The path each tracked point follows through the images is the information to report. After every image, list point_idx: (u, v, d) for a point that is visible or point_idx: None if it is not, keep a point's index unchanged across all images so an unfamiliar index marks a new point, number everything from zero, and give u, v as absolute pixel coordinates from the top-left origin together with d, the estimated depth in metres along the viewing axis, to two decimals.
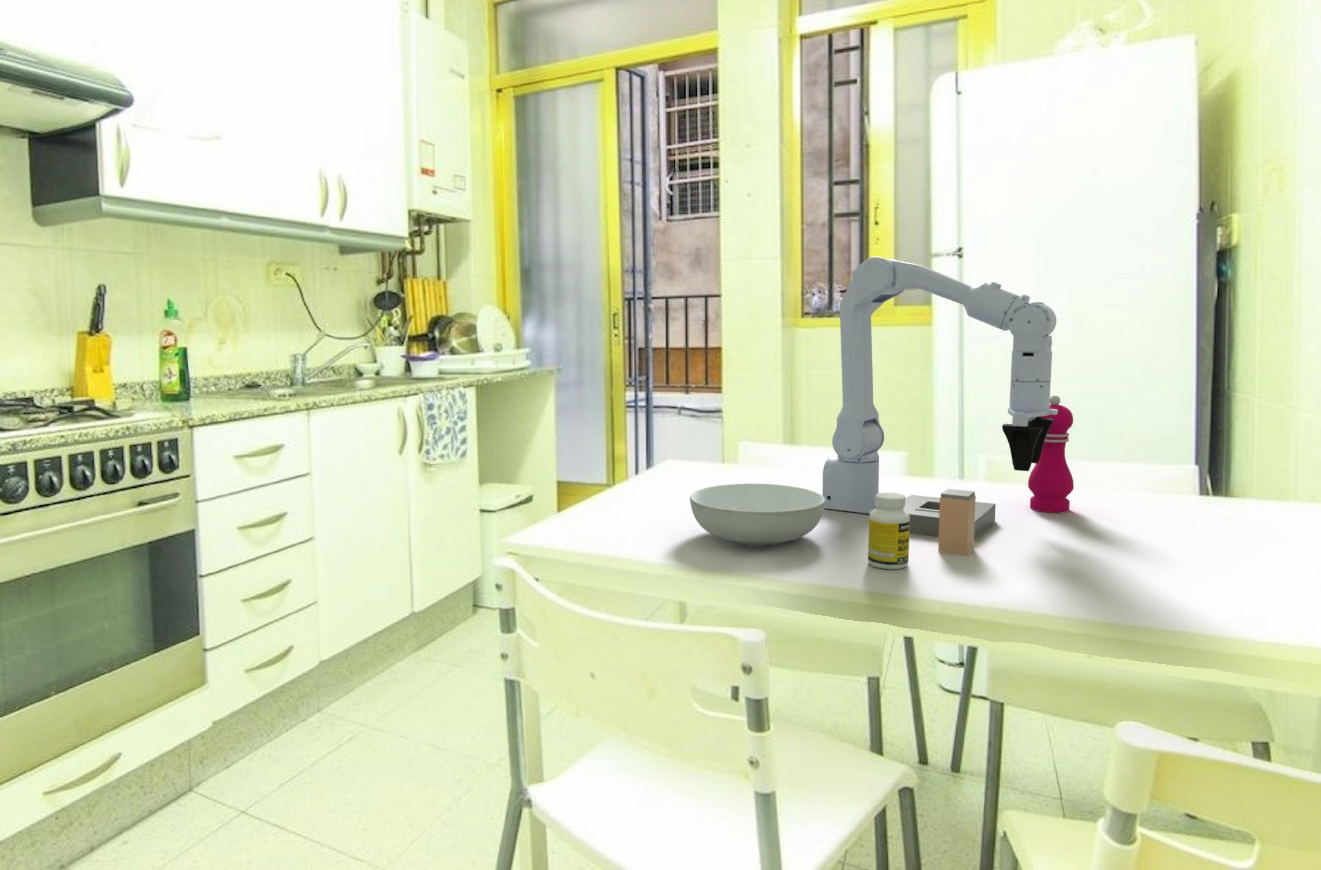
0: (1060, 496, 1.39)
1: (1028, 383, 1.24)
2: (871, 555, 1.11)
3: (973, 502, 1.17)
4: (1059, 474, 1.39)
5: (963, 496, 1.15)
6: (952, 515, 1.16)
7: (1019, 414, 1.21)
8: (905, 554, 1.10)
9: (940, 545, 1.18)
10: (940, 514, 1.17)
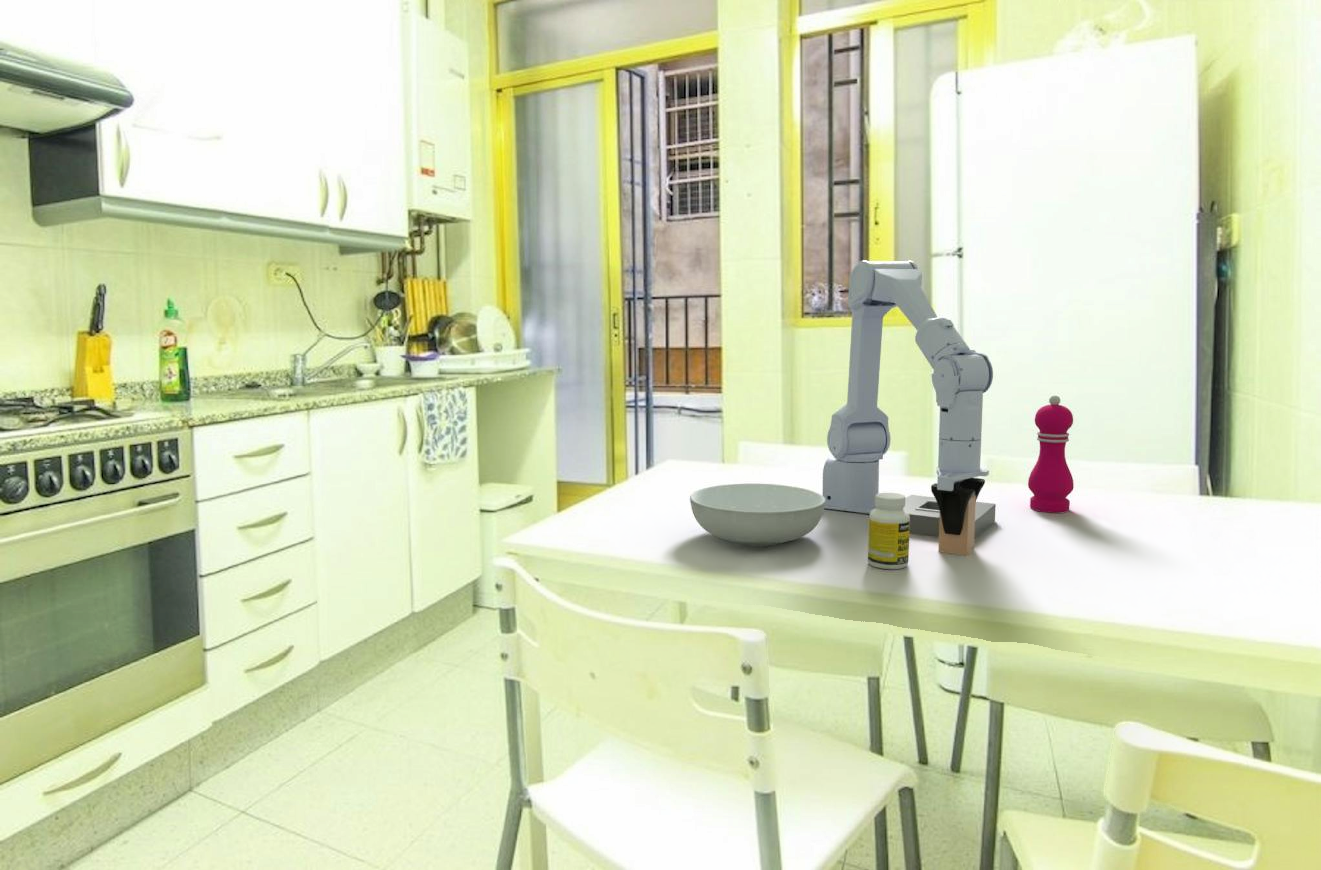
0: (1060, 496, 1.39)
1: (956, 442, 1.14)
2: (871, 555, 1.11)
3: (973, 502, 1.17)
4: (1059, 474, 1.39)
5: None
6: None
7: (944, 477, 1.11)
8: (905, 554, 1.10)
9: (940, 545, 1.18)
10: (940, 514, 1.17)
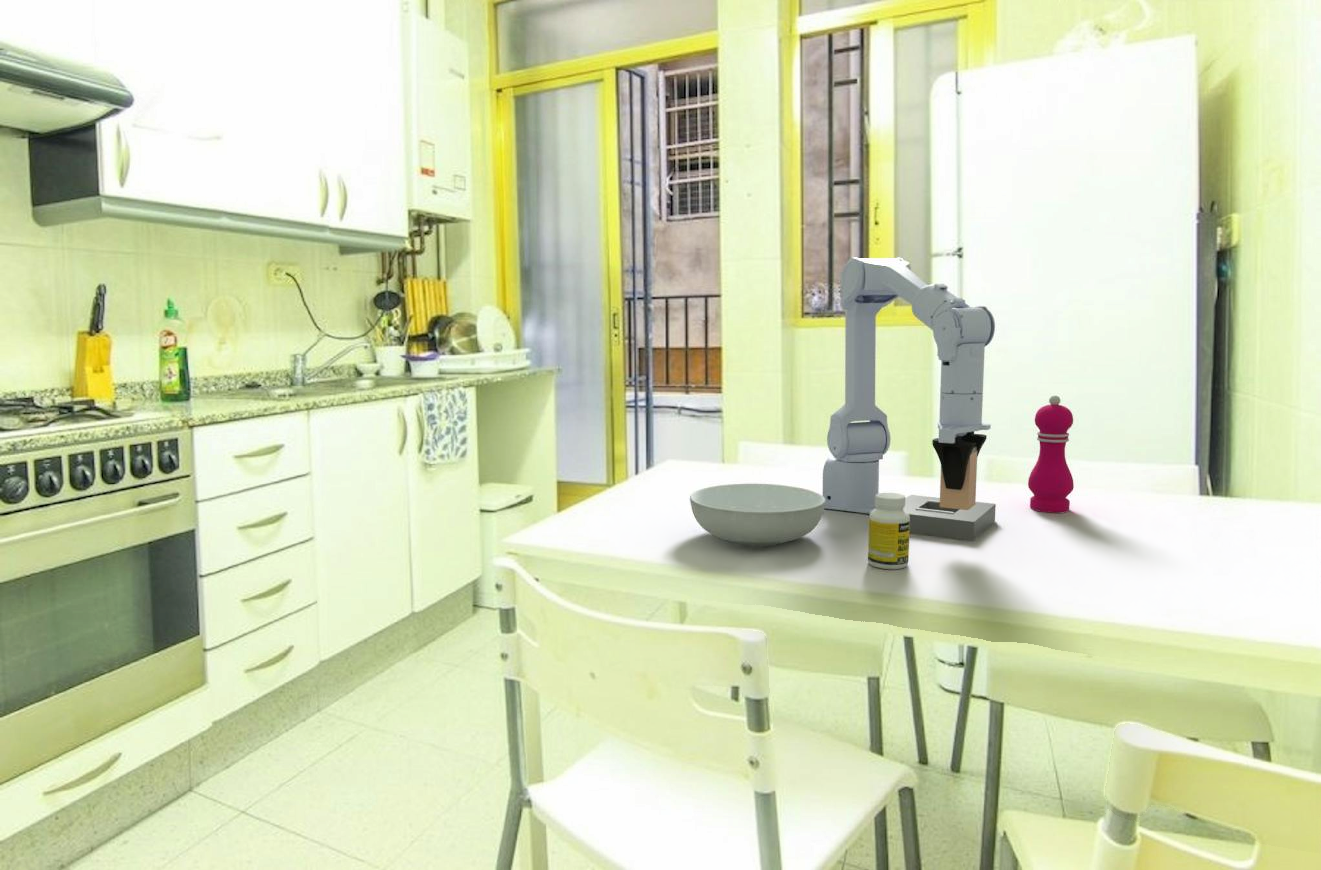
0: (1060, 496, 1.39)
1: (957, 395, 1.13)
2: (871, 555, 1.11)
3: (975, 457, 1.16)
4: (1059, 474, 1.39)
5: None
6: None
7: (945, 430, 1.10)
8: (905, 554, 1.10)
9: (941, 501, 1.17)
10: (941, 469, 1.17)
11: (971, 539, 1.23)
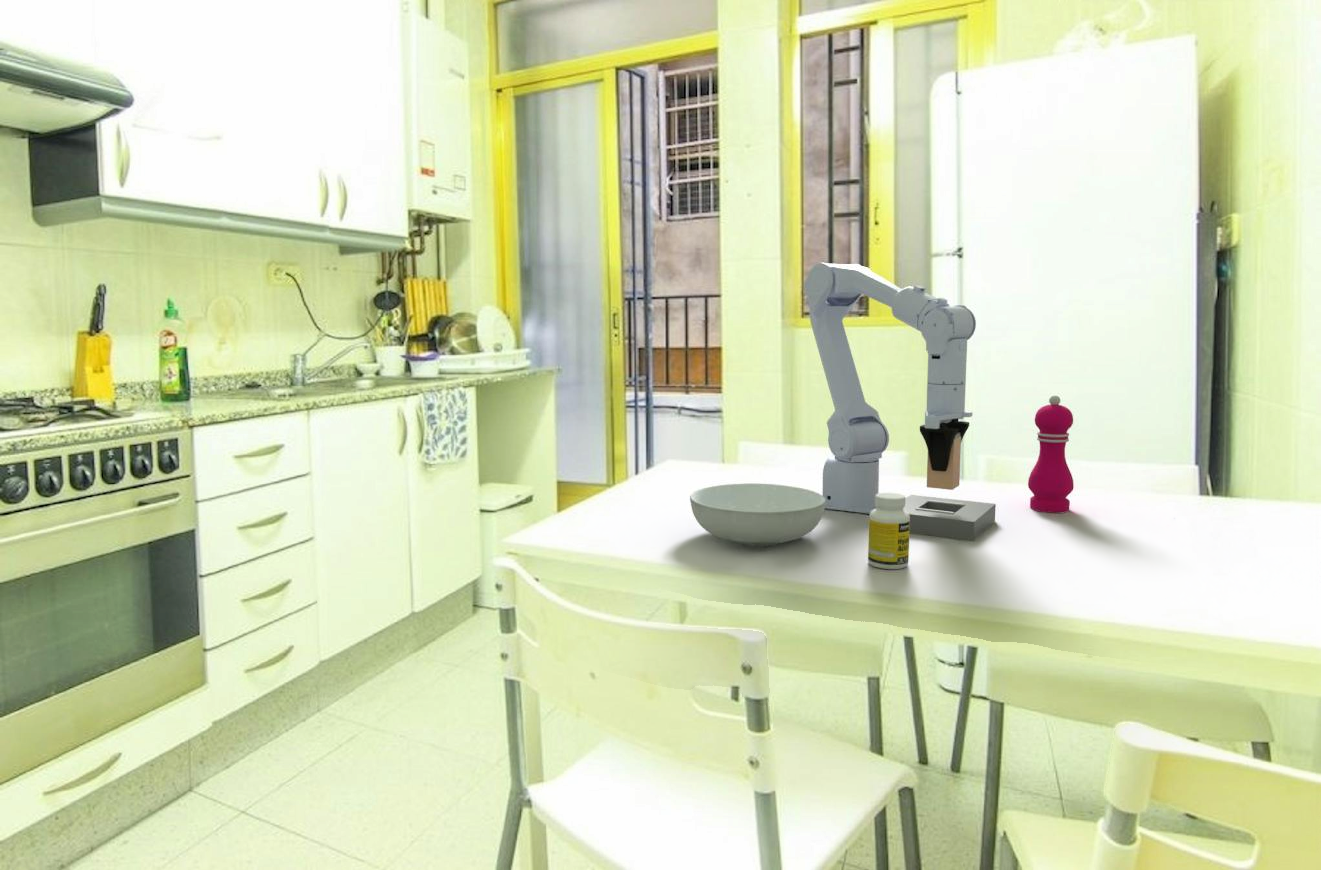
0: (1060, 496, 1.39)
1: (942, 386, 1.25)
2: (871, 555, 1.11)
3: (958, 442, 1.28)
4: (1059, 474, 1.39)
5: None
6: None
7: (931, 416, 1.22)
8: (905, 554, 1.10)
9: (928, 481, 1.29)
10: (928, 453, 1.28)
11: (971, 539, 1.23)
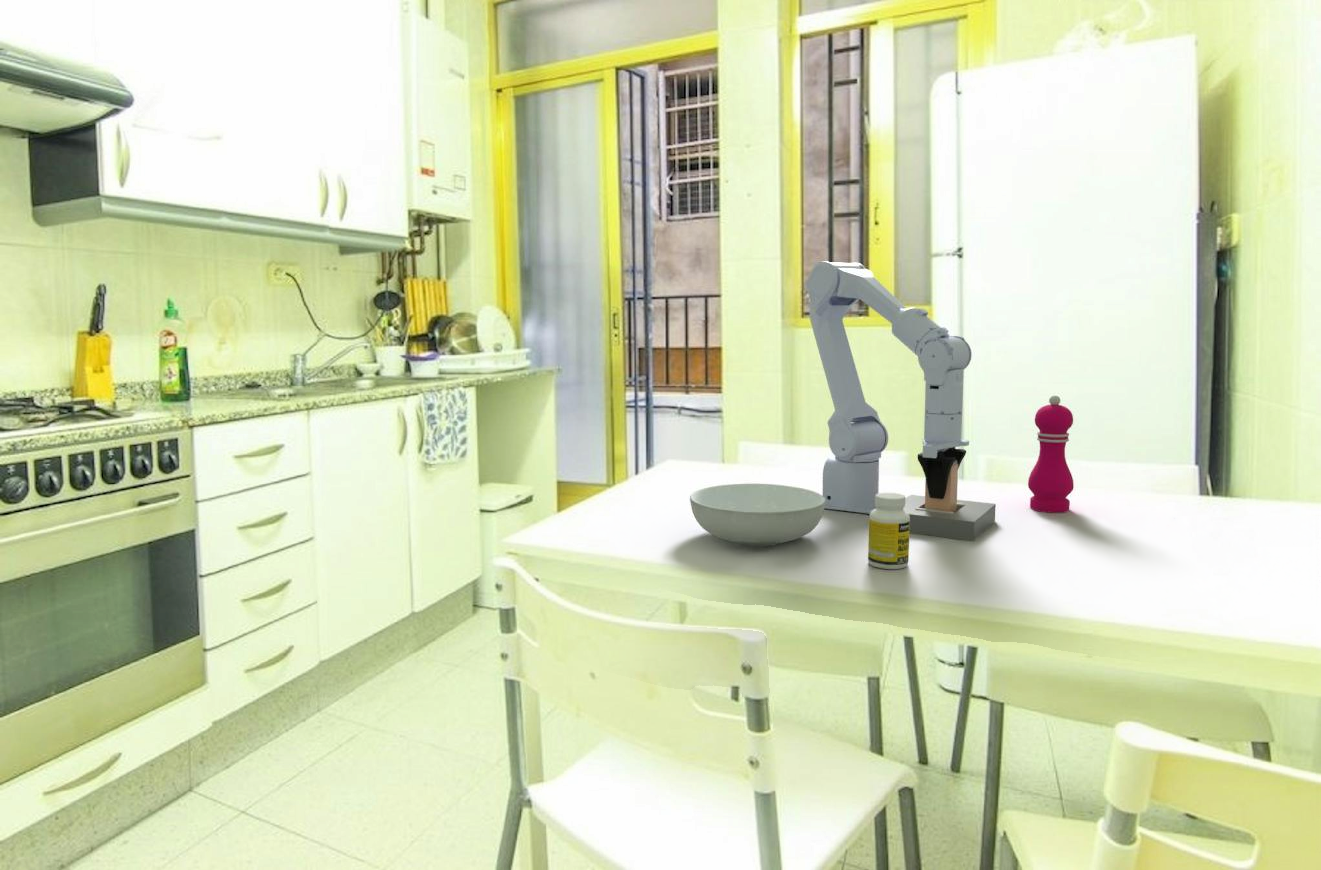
0: (1060, 496, 1.39)
1: (939, 415, 1.28)
2: (871, 555, 1.11)
3: (956, 469, 1.31)
4: (1059, 474, 1.39)
5: None
6: None
7: (929, 446, 1.25)
8: (905, 554, 1.10)
9: (926, 508, 1.32)
10: None
11: (971, 539, 1.23)
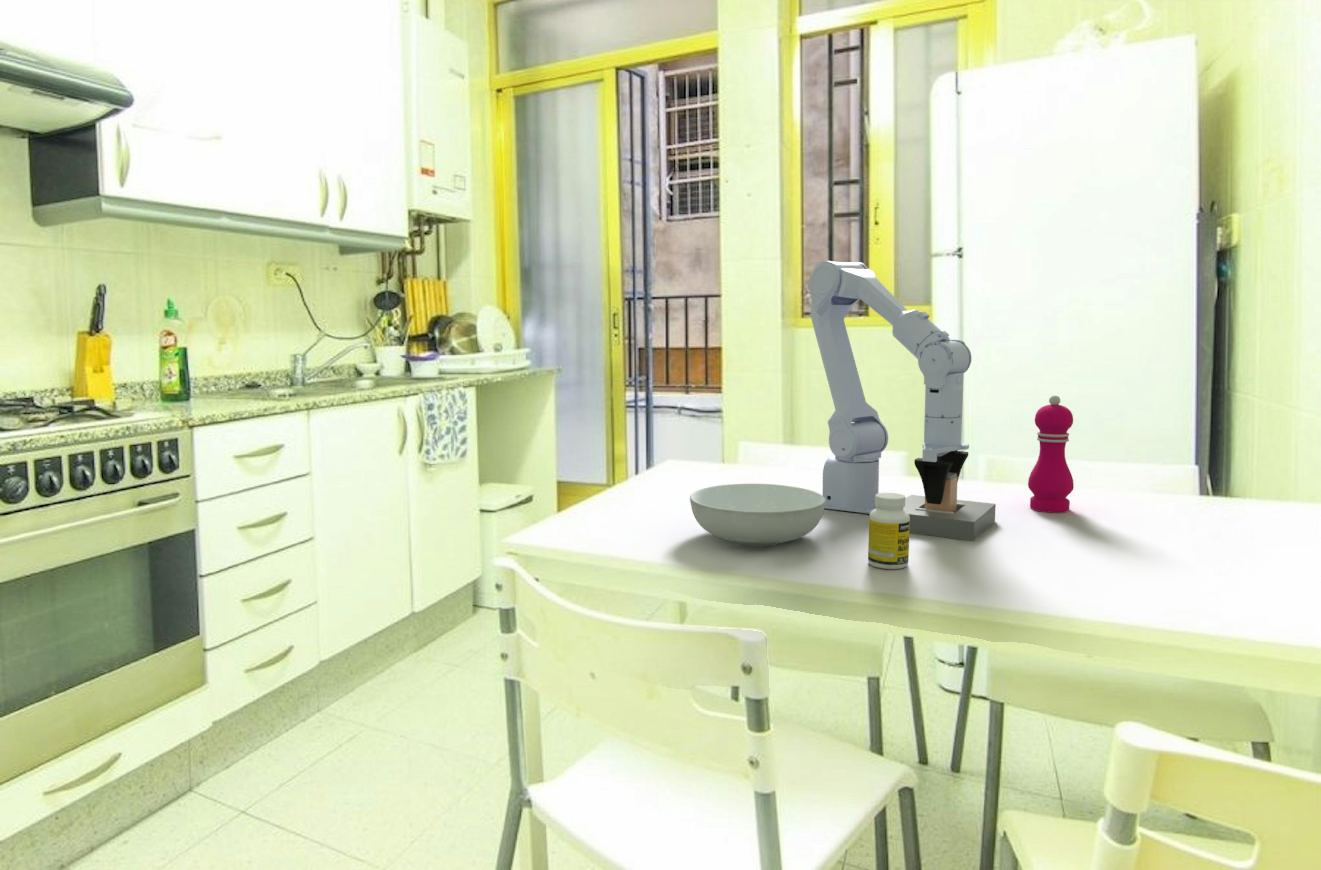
0: (1060, 496, 1.39)
1: (939, 419, 1.28)
2: (871, 555, 1.11)
3: (955, 482, 1.31)
4: (1059, 474, 1.39)
5: None
6: None
7: (928, 450, 1.25)
8: (905, 554, 1.10)
9: None
10: None
11: (971, 539, 1.23)
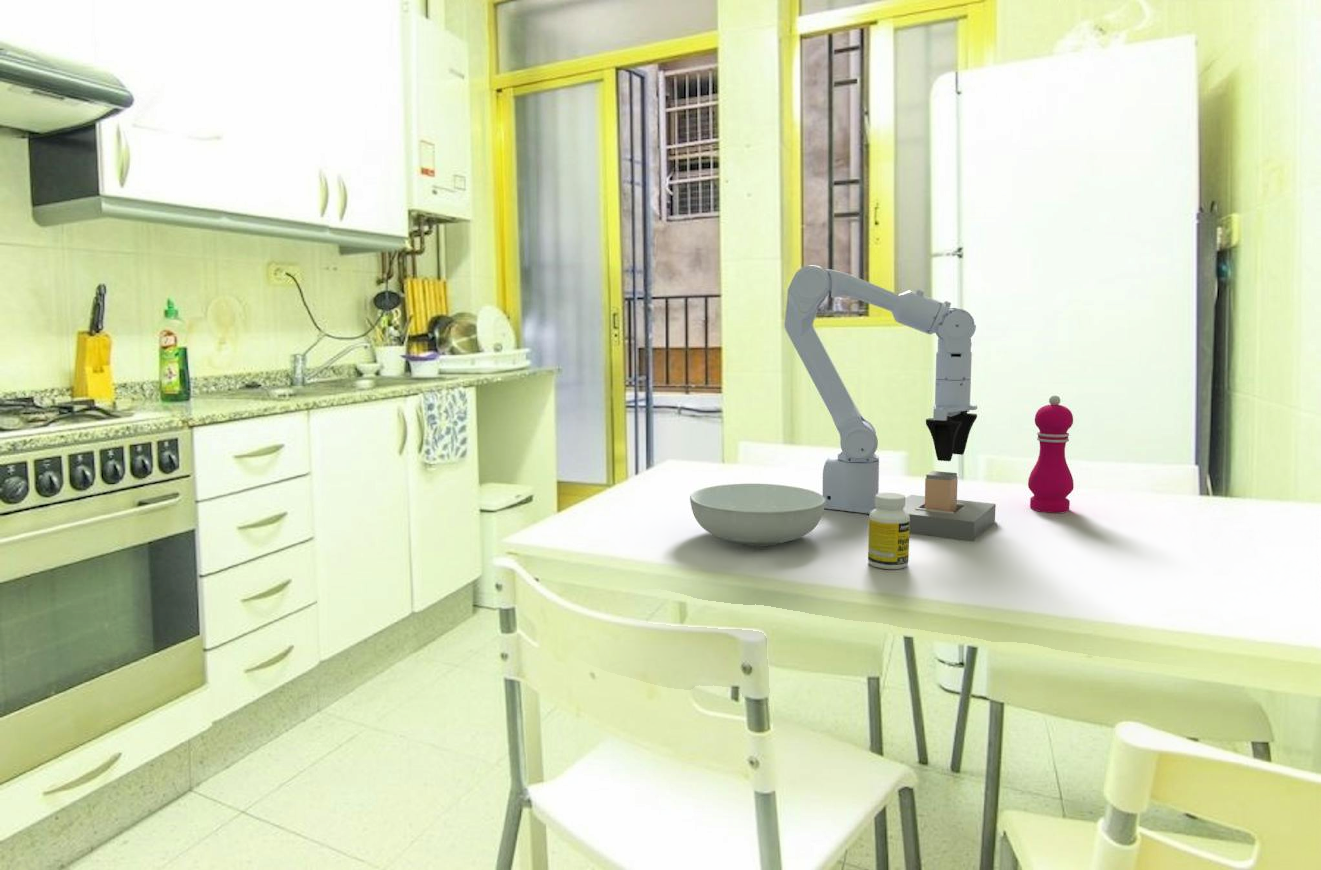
0: (1060, 496, 1.39)
1: (949, 381, 1.37)
2: (871, 555, 1.11)
3: (955, 482, 1.31)
4: (1059, 474, 1.39)
5: (946, 477, 1.29)
6: (936, 494, 1.30)
7: (939, 409, 1.34)
8: (905, 554, 1.10)
9: None
10: (925, 493, 1.31)
11: (971, 539, 1.23)
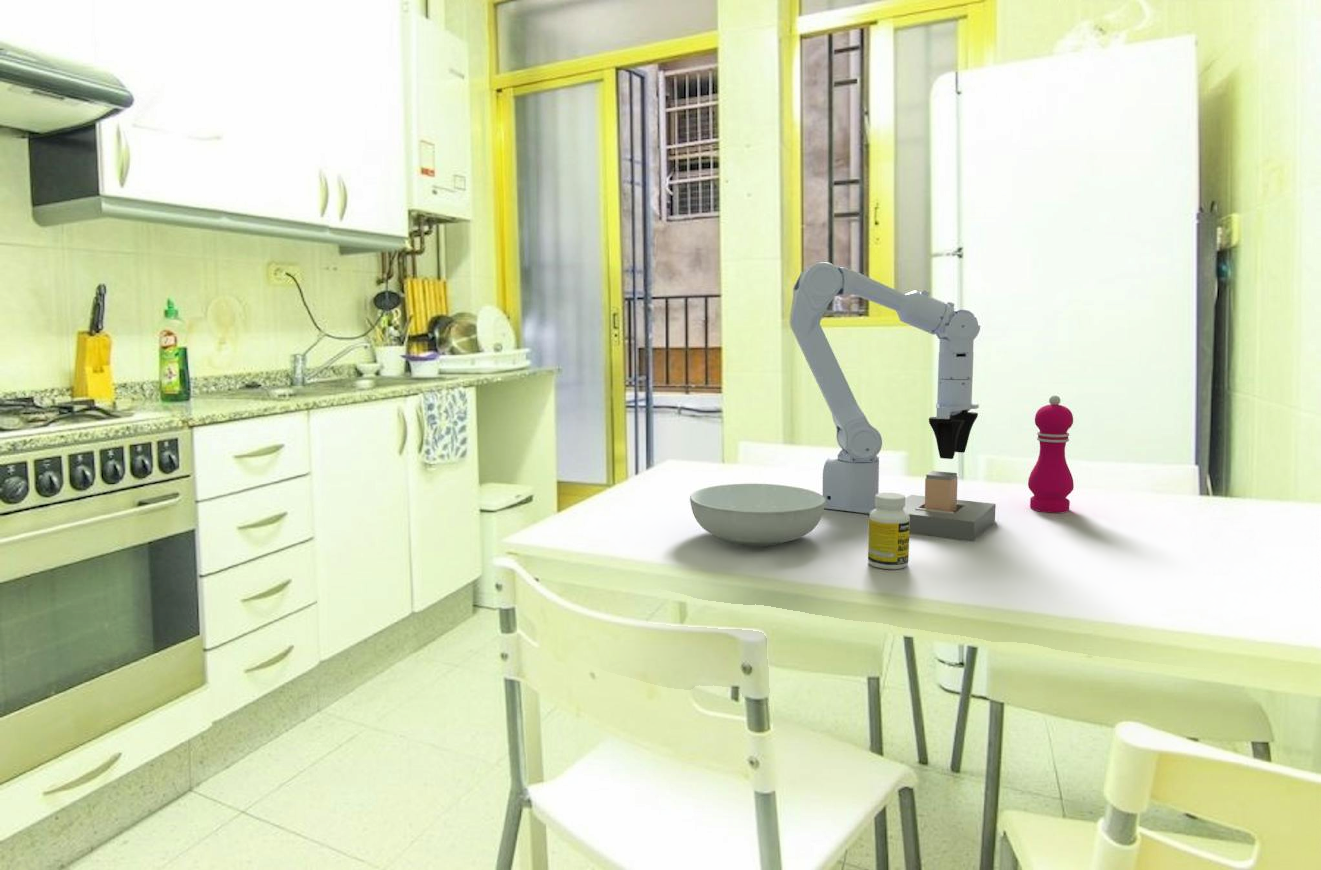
0: (1060, 496, 1.39)
1: (952, 381, 1.40)
2: (871, 555, 1.11)
3: (955, 482, 1.31)
4: (1059, 474, 1.39)
5: (946, 477, 1.29)
6: (936, 494, 1.30)
7: (942, 408, 1.37)
8: (905, 554, 1.10)
9: None
10: (925, 493, 1.31)
11: (971, 539, 1.23)
